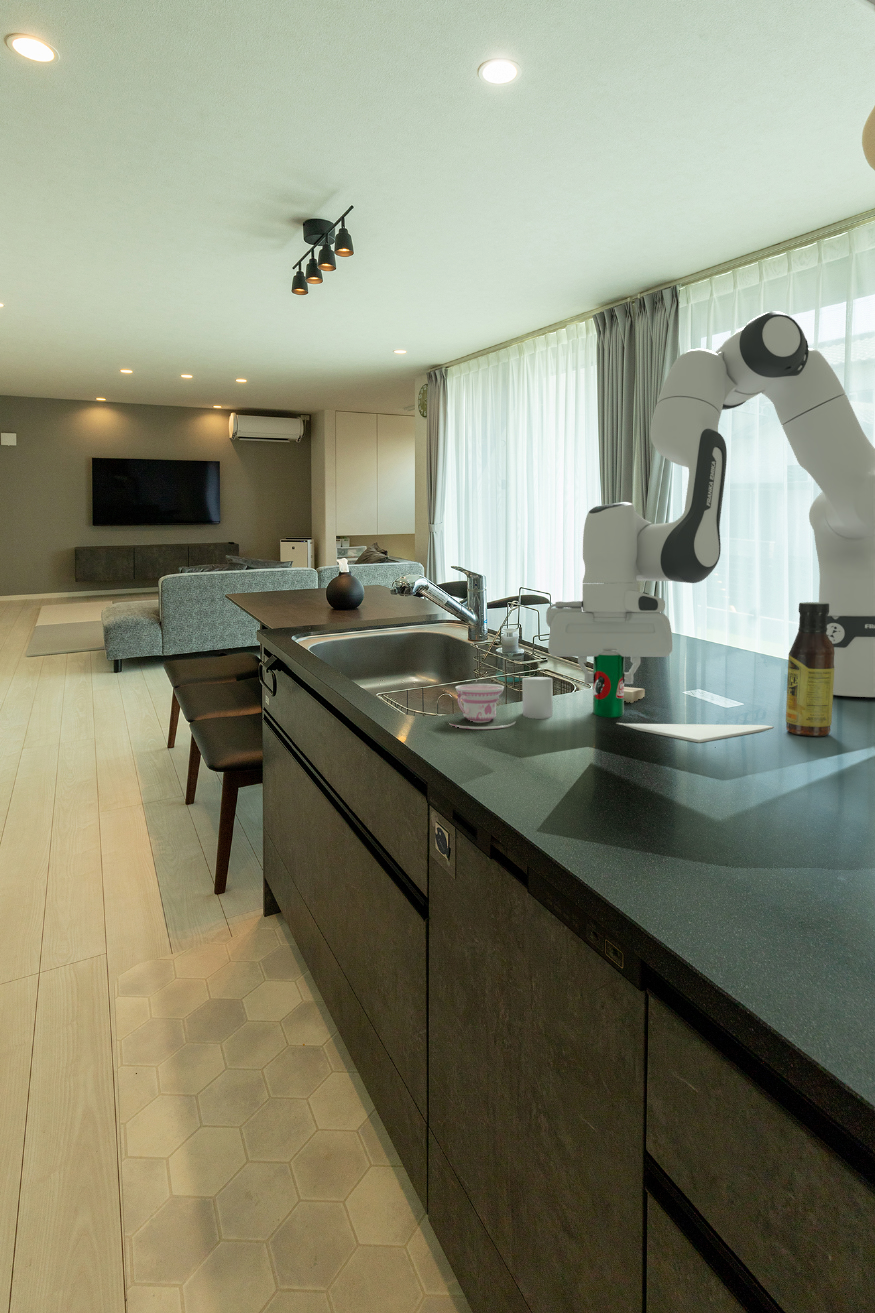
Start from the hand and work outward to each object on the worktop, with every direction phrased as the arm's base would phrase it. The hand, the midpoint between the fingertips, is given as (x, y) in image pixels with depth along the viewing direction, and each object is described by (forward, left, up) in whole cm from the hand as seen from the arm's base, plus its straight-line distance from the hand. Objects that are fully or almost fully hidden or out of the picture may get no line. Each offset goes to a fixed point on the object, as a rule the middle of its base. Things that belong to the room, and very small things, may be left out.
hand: (608, 683), depth 124 cm
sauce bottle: (-16, +26, -6) cm, 31 cm away
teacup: (+20, -9, -7) cm, 23 cm away
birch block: (-10, -5, -6) cm, 13 cm away
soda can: (0, 0, -6) cm, 6 cm away
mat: (-6, +12, -6) cm, 15 cm away
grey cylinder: (+10, -6, -6) cm, 13 cm away
